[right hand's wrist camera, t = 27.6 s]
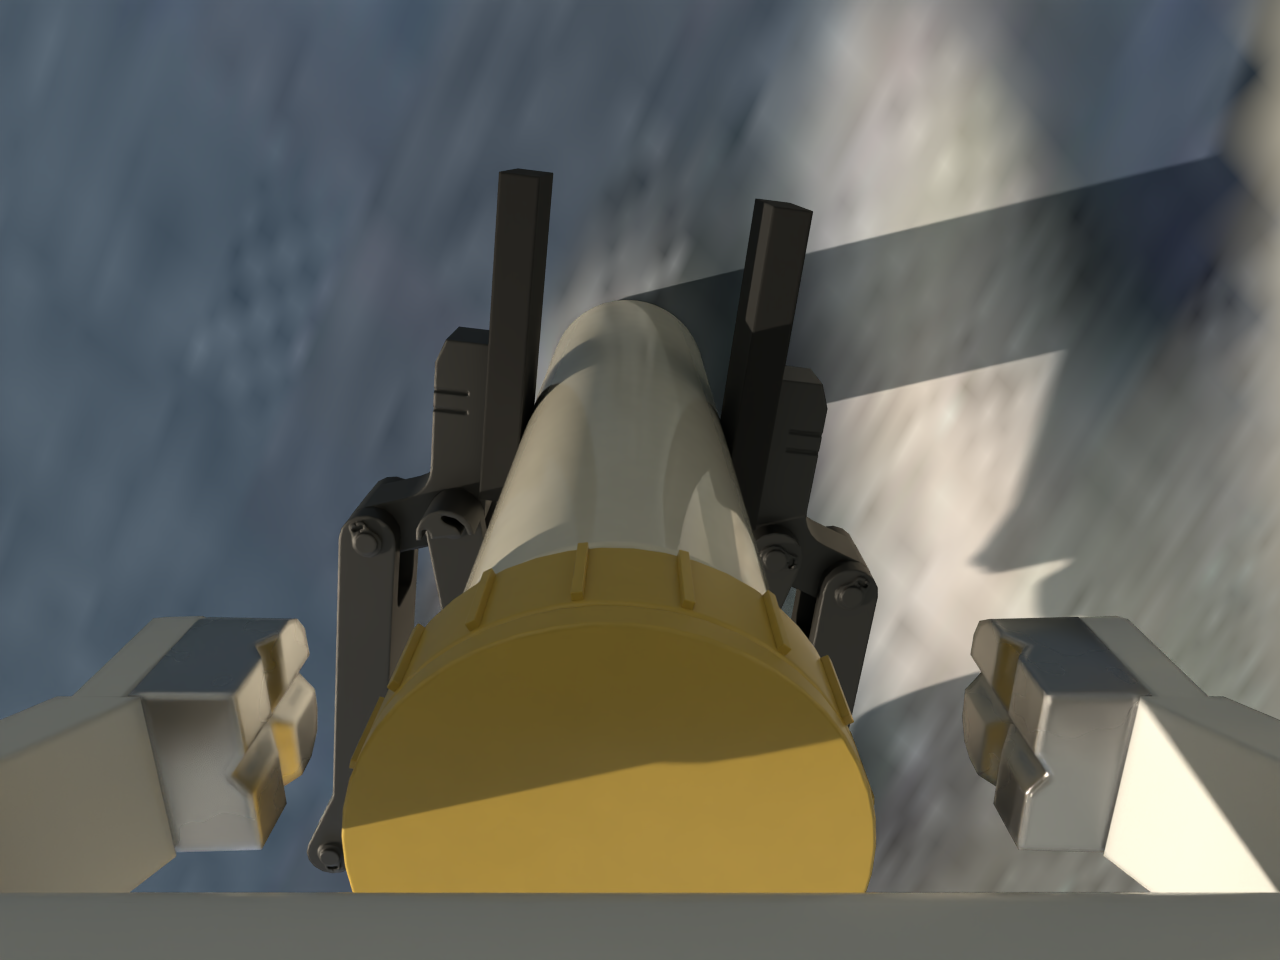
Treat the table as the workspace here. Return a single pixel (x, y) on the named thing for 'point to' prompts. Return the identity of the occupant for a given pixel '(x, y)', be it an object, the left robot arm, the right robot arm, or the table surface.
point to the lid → (609, 742)
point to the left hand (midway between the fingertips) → (655, 191)
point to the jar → (624, 453)
